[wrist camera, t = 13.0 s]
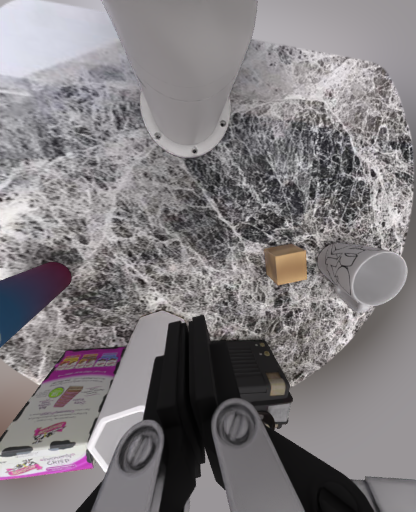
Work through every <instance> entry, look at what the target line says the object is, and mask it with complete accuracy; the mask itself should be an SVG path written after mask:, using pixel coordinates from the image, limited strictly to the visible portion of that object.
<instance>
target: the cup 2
mask: <svg viewBox="0 0 416 512" xmlns="http://www.w3.org/2000/svg"><path fill="white" fill-rule="evenodd" d="M176 321H181V322H182V323H185V321H184V319H183V318H181V317H178V316H176V315H173V314H171V313H168V312H166V311H162V310H161V311H158V312H155V313H152V314H149V315H146V316H143V317H141V318H140V319H139V321H138V323H137V325H136V327H135V329H134V331H133V333H132V335H131V338H130V340H129V343H128V345H127V348H126V350H125V353H124V355H123V358H122V360H121V363H120V365H119V368H118V370H117V373H116V375H115V378H114V380H113V382H112V385H111V387H110V390H109V392H108V395H107V397H106V400H105V402H104V405H103V407H102V410H101V412H100V415H99V417H98V420H97V422H96V425H95V427H94V430H93V432H92V434H91V437H90V439H89V442H88V444H87V449H88V450H89V452H90V453H91V454H92V456H93V457H94V458H95V460H96V461H97V462H98V463H99V465H100V466H101V467H102V469H103V470H104V471H105V472H107V470H108V467H109V464H110V462H111V459H112V457H113V454H114V452H115V449H116V447H117V445H118V443H119V441H120V439H121V438H122V437H123V435H124V434H125V433H126V431H128V430H129V429H130V428H131V427H132V426H133V425H135V424H137V423H138V422H140V421H142V420H143V415H144V410H145V405H146V400H147V395H148V390H149V385H150V380H151V375H152V369H153V364H154V360H155V358H156V357H157V356H162V355H164V352H165V345H166V338H167V331H168V324H169V323H172V322H176ZM187 329H188V328H187ZM188 332H189V331H188Z"/></svg>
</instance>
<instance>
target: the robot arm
mask: <svg viewBox="0 0 416 512" xmlns="http://www.w3.org/2000/svg"><path fill="white" fill-rule="evenodd" d="M101 1H102V3H103V5H104V7H105V9H106V11H107V13H108V15H109V17H110V19H111V21H112V23H113V25H114V28H115V30H116V32H117V34H118V36H119V39H120V41H121V43H122V45H123V48H124V50H125V53H126V55H127V58H128V60H129V62H130V64H131V67H132V69H133V71H134V74H135V76H136V78H137V81H138V83H139V85H140V88H141V94H140V108H141V114H142V118H143V121H144V124H145V127H146V129H147V130H148V132H149V134H150V136H151V137H152V139H153V140H154V141H155V142H156V143H157V144H158V145H159V146H160V147H161V148H162V149H164V150H165V151H166V152H168V153H170V154H172V155H174V156H178V157H181V158H194V157H199V156H202V155H204V154H206V153H208V152H209V151H211V150H212V149H213V148H214V147H215V146H217V145H218V143H219V142H220V141H221V139H222V138H223V136H224V134H225V132H226V130H227V127H228V124H229V119H230V113H231V103H230V96H229V94H230V92H231V90H232V87H233V85H234V82H235V80H236V77H237V75H238V73H239V70H240V68H241V65H242V62H243V60H244V58H245V55H246V53H247V50H248V47H249V44H250V41H251V38H252V34H253V30H254V25H255V19H256V12H257V0H101ZM221 124H223V125H224V126H223V127H222V126H221ZM157 136H160V139H157ZM193 150H196V153H193ZM192 320H193V321H190V322H189V332H188V329H187V325H186V323H182V322H181V321H176V322H172V323H169V324H168V331H167V338H166V345H165V352H164V355H162V356H157V357H156V358H155V360H154V364H153V369H152V375H151V380H150V385H149V390H148V395H147V400H146V405H145V410H144V415H143V420H142V421H140V422H138V423H137V424H135V425H133V426H132V427H131V428H130V429H129V430H128V431H126V433H125V434H124V435H123V437H122V438H121V439H120V441H119V443H118V445H117V447H116V449H115V452H114V454H113V457H112V459H111V462H110V464H109V467H108V470H107V472H106V475H105V477H104V479H103V481H102V482H101V483H100V484H99V485H98V486H97V488H96V489H95V490H94V491H93V492H92V493H91V495H90V496H89V497H88V498H87V499H86V500H85V501H84V503H83V504H82V505H81V506H80V507H79V508H78V509H77V511H76V512H189V507H190V501H189V497H190V495H191V493H192V492H193V490H194V488H195V486H196V478H198V477H200V476H201V472H200V464H203V463H205V450H206V453H207V456H208V459H209V462H210V465H211V468H212V471H213V474H214V477H215V480H216V482H217V483H218V484H219V485H220V486H222V488H224V489H225V490H226V494H227V498H228V502H229V507H230V511H231V512H416V480H412V479H396V478H382V477H365V480H352V479H349V478H347V477H346V476H345V475H344V474H342V473H341V472H339V471H337V470H336V469H334V468H333V467H331V466H330V465H328V464H326V463H325V462H323V461H322V460H320V459H318V458H317V457H315V456H314V455H312V454H311V453H309V452H307V451H306V450H304V449H303V448H301V447H299V446H298V445H296V444H295V443H293V442H292V441H290V440H288V439H287V438H285V437H284V436H282V435H280V434H279V433H277V432H276V431H274V430H273V429H271V428H269V427H268V426H266V425H265V424H263V422H262V420H261V418H260V416H259V414H258V412H257V411H256V409H255V408H254V406H253V405H252V404H250V403H249V402H248V401H246V400H243V399H241V396H240V392H239V388H238V384H237V381H236V377H235V373H234V369H233V365H232V361H231V357H230V354H229V350H228V346H227V342H226V340H224V341H220V342H215V343H211V341H210V337H209V333H208V329H207V325H206V321H205V317H204V315H201V316H197V317H193V318H192Z"/></svg>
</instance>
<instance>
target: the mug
mask: <svg viewBox="0 0 416 512" xmlns="http://www.w3.org/2000/svg"><path fill="white" fill-rule="evenodd" d="M318 268H319V269H320V271H321V272H322V273H323V274H324V275H325V276H326V277H327V278H328V279H329V280H330V281H331V282H332V283H333V284H334V285H335V292H336V294H337V296H338V297H339V298H340V299H342V300H343V301H344V302H345V303H346V304H347V305H348V306H349V307H350V308H351V309H352V310H354V311H355V312H358V313H361V312H365V311H367V310H368V309H369V307H370V306H376V305H380V304H383V303H385V302H387V301H389V300H390V299H392V298H393V297H395V295H397V294H398V293H399V291H400V290H401V289H402V287H403V285H404V283H405V281H406V278H407V265H406V262H405V260H404V259H403V258H402V257H401V256H400V255H398V254H397V253H395V252H392V251H388V250H383V249H378V248H373V247H368V246H363V245H354V244H341V243H335V244H331V245H329V246H327V247H325V248H324V249H323V250H322V251H321V253H320V254H319V257H318ZM355 300H356V301H357V302H356V301H355Z"/></svg>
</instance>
